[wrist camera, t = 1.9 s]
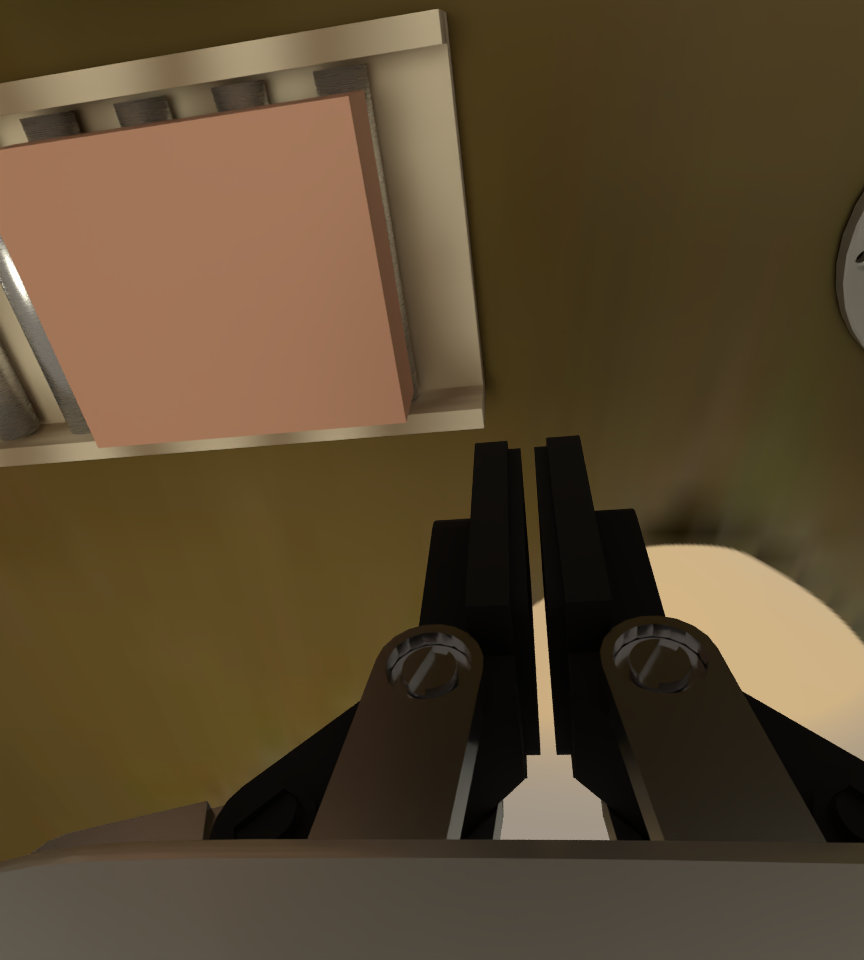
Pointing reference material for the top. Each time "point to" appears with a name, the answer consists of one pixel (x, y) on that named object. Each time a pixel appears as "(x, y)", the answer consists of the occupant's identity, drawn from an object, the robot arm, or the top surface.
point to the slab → (214, 272)
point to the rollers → (3, 399)
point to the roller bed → (409, 185)
